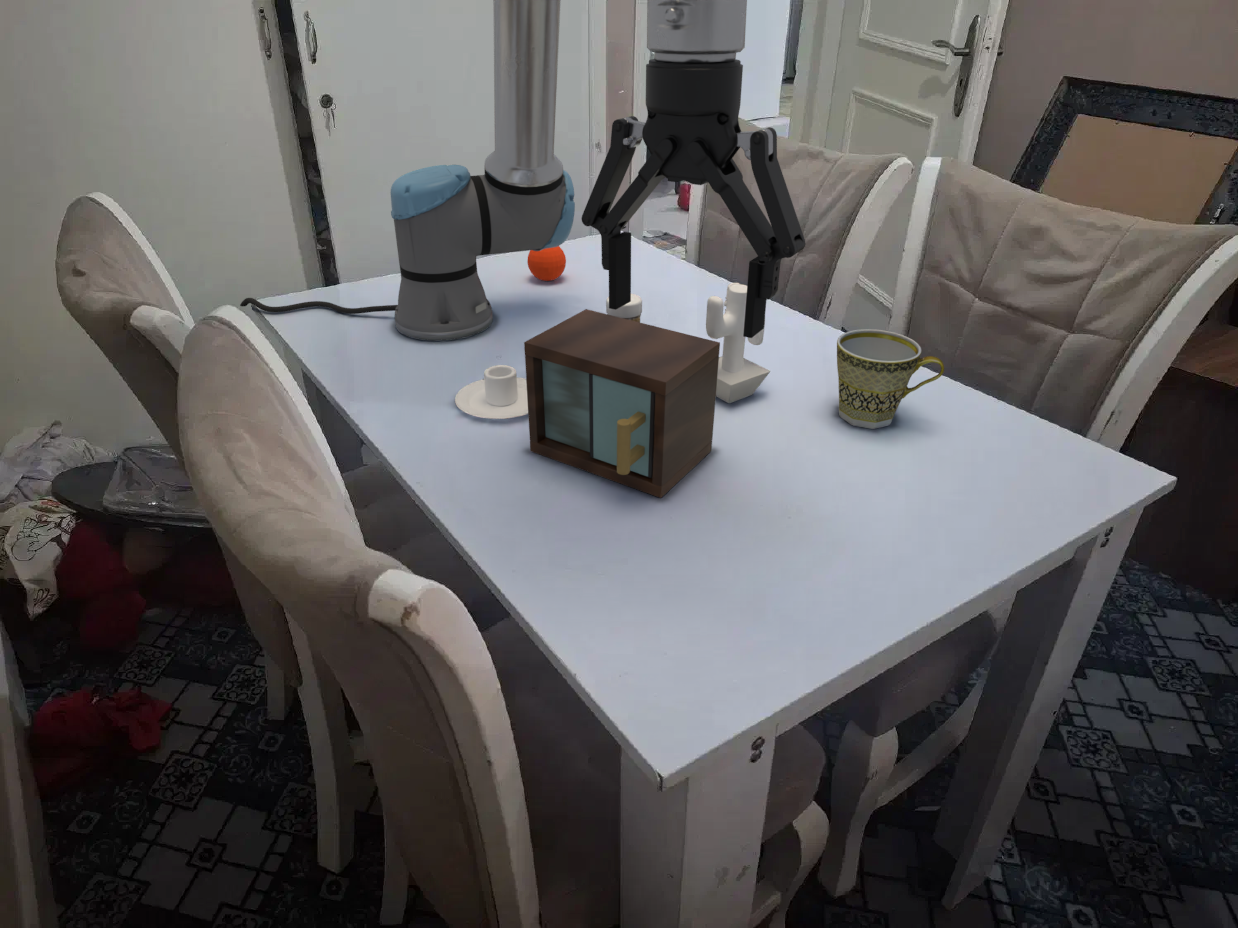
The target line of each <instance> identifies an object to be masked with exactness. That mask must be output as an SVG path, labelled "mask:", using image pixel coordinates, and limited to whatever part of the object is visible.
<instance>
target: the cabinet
mask: <svg viewBox="0 0 1238 928" xmlns="http://www.w3.org/2000/svg"><path fill="white" fill-rule="evenodd" d="M523 347H524V348H523V349H524V362H525V363H524V364H525V366H524V367H525V379H526V383H527V401H528V414H527V415H528V416H527V417H528V430H529V431H528V433H529V435H528V436H529V448H530V452H531V453H533V454H534V453H535V454H537V455H539V456H543V457H545V458H548V459H550V460H554V461H557V462H559V463H563V464H565V465H568V466H571V467H574V468H576V469H579V470H580V471H581V470H582V471H584V472H587V473H590V474H593V475H595V476H598V477H601V478H604V479H607V480H610V481H612V482H615V483H618V484H620V485H623V486H626V487H629V488H630V489H631V488H632V489H635V490H637V491H639V492H643V493H644V494H645V493H646V494H648V495H650V496H654V497H656V498H659V499H661V498H663V497H664V496H665V495H666V494H667V493H668V492H669V491H670V490H672V489H673V488H674V487H675V486H676V485H677V484H678V483H679V482H680V481H681V480H682V479H683V478H684V477H686V476H687V474H689V473H690V472H691V471H692V470H693V469H694V468H695V467H696V466H697V465H698V464H699V463H700V462H701V461H703V460H704V459H705V458H706V457H707V456H708V455H709V454H710V453H711V452H712V450H713V449H712V448H713V435H714V426H715V425H714V422H715V412H716V411H715V410H716V398H717V397H716V387H717V374H718V362H719V357H720V349H721V342H720V341H715V340H713V339H708V338H705V337H700V336H695V335H692V334H687V333H684V332H679V331H676V330H671V329H667V328H663V327H660V326H656V325H651V324H647V323H645V322H641V321H640V322H636V321H632V320H628V319H624V318H620V317H616V316H612V315H608V314H607V313H603V312H600V311H596V310H591V309H587V308H585V309H584V310H582V311H580V312H578V313H575V314H574V315H572V316H570V317H568V318H567V319H565V320H563V321H561V322H559V323H558V324H556V325H553V326H552V327H550V328H548V329H546V330H544V331H543V332H540V333H539V334H537V335H534V336H533V337H531V338H529V339H527V340H526V341H524V342H523ZM589 373H590V374H593V375H596V376H600V377H603V378H607V379H610V380H614V381H617V382H620V383H624V384H627V385H631V386H634V387H637V388H641V389H644V390H648V391H651V392H655V420H654V448H653V476H652V478H649V477H647V476H644V475H641V474H639V473H636V472H633V471H630V472H629V474H626V475H620V474H618V473H617V466H616V465H613V464H610V463H607V462H604V461H601V460H598V459H596V458H592V457H590V426H589Z"/></svg>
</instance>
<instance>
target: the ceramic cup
mask: <svg viewBox="0 0 1238 928" xmlns="http://www.w3.org/2000/svg"><path fill="white" fill-rule="evenodd" d="M922 352H923V351H922V347H921V345H920V344H919V343H918V342H917V341H915V340H914V339H912V338H911V337H908V336H906V335H903V334H902V333H897V332H894V331H890V330H884V329H875V328H874V329H873V328H865V329H864V328H862V329H861V328H860V329H854V330H849V331H847V332H844V333H841V334H840V335H839V337H837V340H836V367H837V368H836V369H837V376H838V417H839V418H841V419H842V420H844V422H846V423H848V424H849V425H851V426H854V427H858V428H865V429H871V430H875V429H878V428H883V427H887V426H890V425H891V424H892V423H893V420H894V417H895V415H896V412H897V409H898V408H899V406H900V404H901V402H902V400H903V399H905V398H906V397H907V396H908V395H909V394H911V393H913V392H914V391H916V390H918V389H920V388H921V387H923V386H925V385H926V384H930V383H932V382H935V381H936V380H938V379H940V378H941V377H942V376H943V374H944V373H945V364H944V362H943V360H942V359H941V358H939V357H937V356H933V355H927V356H923V357H921V355H922ZM931 363H933V364H938V365H939V366H940V371H939V373H938V374H936V375H934V376H933V377H930V378H927V379H925V380H923V381H921V382H919V383H918V384H916V385H915V386H913V387H908V384H909V382H910V379H911V378H912V376H913V375H914V374H915V373H916V372H917V371H918V370H919V369H920V368H921V367H922V366H924V365H926V364H931Z"/></svg>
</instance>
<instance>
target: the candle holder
mask: <svg viewBox="0 0 1238 928" xmlns="http://www.w3.org/2000/svg"><path fill="white" fill-rule="evenodd" d="M454 403H455V405H456V407H457V408H458V409H459V410H460V411H462V412H463V413H465V414H467V415H470V416H473V417H476V418H482V419H489V420H490V419H492V420H508V419H513V418H518V417H522V416H526V415H528V401H527V383H526V378H523V377H518V376H517V369H516V368H514V367H513V366H510V365H506V364H497V365H492V366H489V367H487V368H486V369H485V370H484V372H483V379H479V380H476V381H473V382H470V383H468V384H467V385H465V386H463V387H462V388H460V389H459V391H457V392H456V395H455V397H454Z"/></svg>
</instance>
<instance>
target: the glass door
mask: <svg viewBox="0 0 1238 928" xmlns="http://www.w3.org/2000/svg"><path fill="white" fill-rule="evenodd" d="M654 420H655V392H651V391H648V390H644V389H641V388H637V387H634V386H631V385H627V384H624V383H620V382H617V381H614V380H610V379H607V378H603V377H600V376H596V375H593V374H590V373H589V426H590V457H592V458H596V459H598V460H601V461H604V462H607V463H610V464H613V465H616V466H617V473H618V474H620V475H626V474H629V472H630V471H633V472H636V473H639V474H641V475H644V476H647V477H649V478H652V476H653V448H654Z"/></svg>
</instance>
